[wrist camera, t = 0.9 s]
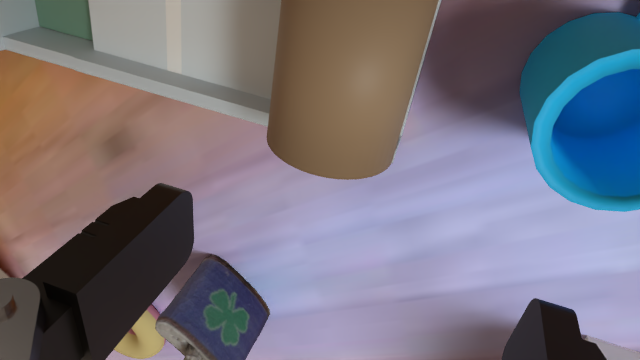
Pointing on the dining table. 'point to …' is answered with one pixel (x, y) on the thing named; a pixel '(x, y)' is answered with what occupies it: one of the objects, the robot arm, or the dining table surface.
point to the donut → (142, 337)
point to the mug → (587, 110)
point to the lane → (259, 66)
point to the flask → (214, 314)
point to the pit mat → (65, 17)
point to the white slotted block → (614, 350)
